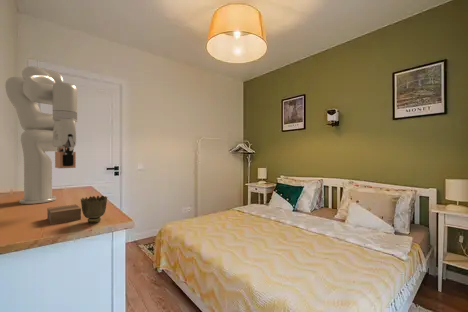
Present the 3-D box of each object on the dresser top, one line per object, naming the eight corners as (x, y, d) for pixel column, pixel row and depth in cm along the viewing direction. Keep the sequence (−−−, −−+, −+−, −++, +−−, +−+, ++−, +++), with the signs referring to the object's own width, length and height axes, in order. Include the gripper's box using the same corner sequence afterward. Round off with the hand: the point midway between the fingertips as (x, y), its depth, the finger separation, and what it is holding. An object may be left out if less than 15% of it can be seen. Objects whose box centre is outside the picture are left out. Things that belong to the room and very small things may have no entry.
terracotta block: (55, 167, 88) (55, 151, 88) (70, 167, 92) (70, 151, 92) (59, 168, 85) (59, 151, 85) (75, 167, 89) (75, 151, 89)
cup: (79, 221, 77) (79, 196, 77) (105, 217, 81) (105, 194, 81) (81, 227, 71) (81, 201, 71) (109, 223, 76) (109, 198, 75)
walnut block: (47, 219, 79) (47, 207, 79) (75, 215, 85) (75, 204, 85) (50, 225, 73) (50, 212, 73) (80, 220, 79) (80, 208, 79)
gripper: (45, 117, 90) (46, 164, 91) (61, 113, 80) (61, 167, 80) (68, 119, 96) (68, 164, 97) (85, 116, 86) (85, 166, 86)
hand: (65, 164), depth 88 cm, fingers closed on terracotta block, 5 cm apart
